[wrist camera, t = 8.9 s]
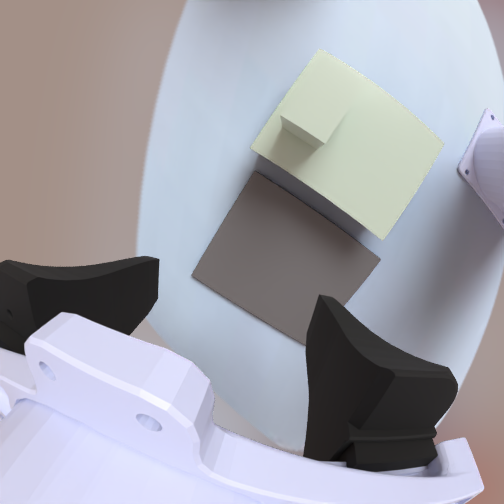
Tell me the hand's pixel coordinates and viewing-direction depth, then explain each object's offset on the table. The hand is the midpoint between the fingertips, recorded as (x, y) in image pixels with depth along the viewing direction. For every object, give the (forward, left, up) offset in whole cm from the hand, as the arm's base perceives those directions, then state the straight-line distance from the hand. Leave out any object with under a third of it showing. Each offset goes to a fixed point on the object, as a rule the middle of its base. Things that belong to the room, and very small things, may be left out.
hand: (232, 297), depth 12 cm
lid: (-1, -10, -7) cm, 12 cm away
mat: (-3, +1, -10) cm, 11 cm away
